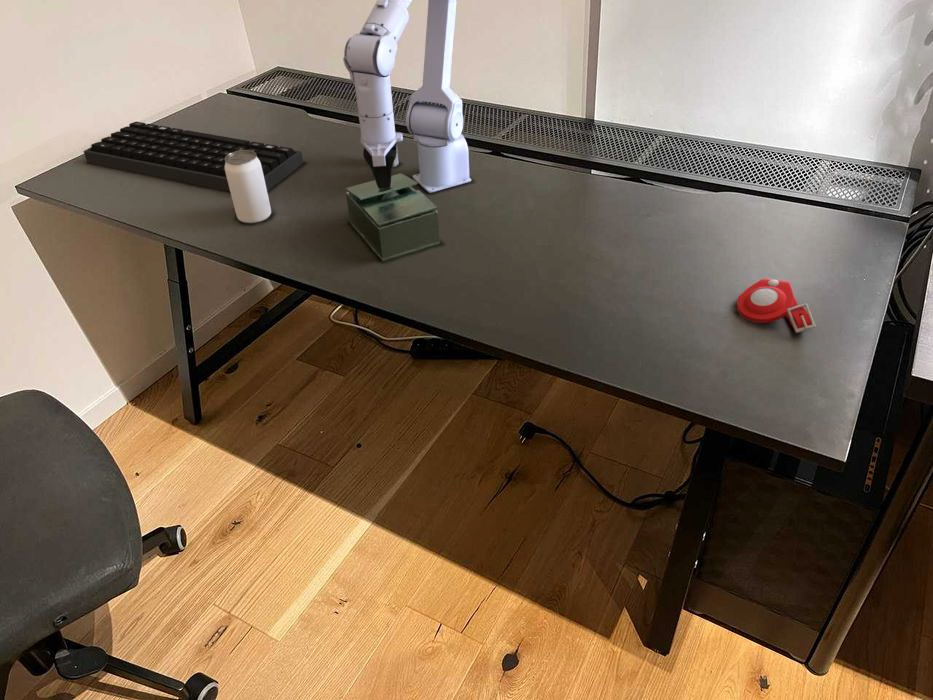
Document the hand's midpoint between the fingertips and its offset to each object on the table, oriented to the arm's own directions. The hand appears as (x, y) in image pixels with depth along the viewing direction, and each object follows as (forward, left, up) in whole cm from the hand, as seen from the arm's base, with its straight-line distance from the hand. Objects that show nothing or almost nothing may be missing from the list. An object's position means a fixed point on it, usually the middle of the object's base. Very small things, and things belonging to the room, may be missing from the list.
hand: (384, 186), depth 134 cm
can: (+20, -18, -9) cm, 28 cm away
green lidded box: (0, +2, -8) cm, 9 cm away
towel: (-3, -1, -3) cm, 5 cm away
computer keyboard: (+25, -47, -9) cm, 54 cm away
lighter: (-10, -26, -9) cm, 29 cm away
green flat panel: (0, -2, -1) cm, 2 cm away
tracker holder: (-39, +55, -9) cm, 68 cm away
